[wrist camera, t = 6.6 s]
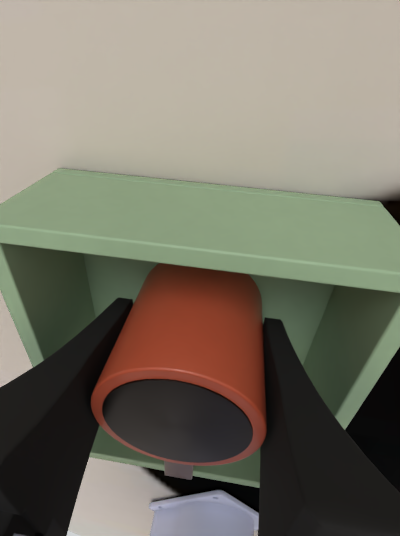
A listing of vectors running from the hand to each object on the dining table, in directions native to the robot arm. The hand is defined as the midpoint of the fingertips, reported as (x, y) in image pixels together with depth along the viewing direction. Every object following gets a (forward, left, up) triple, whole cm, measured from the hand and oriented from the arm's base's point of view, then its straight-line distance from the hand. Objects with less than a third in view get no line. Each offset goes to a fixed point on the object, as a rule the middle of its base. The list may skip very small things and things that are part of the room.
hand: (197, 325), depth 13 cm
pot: (-1, -1, -1) cm, 2 cm away
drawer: (-1, -1, -2) cm, 2 cm away
